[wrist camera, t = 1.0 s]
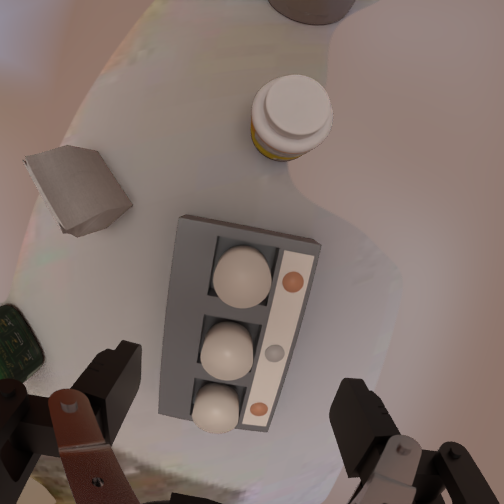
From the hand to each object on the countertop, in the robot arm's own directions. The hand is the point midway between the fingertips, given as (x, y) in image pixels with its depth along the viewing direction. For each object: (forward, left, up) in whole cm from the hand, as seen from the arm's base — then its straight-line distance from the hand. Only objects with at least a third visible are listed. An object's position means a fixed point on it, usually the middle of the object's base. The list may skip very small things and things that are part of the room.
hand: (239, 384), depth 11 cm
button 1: (+14, 0, -16) cm, 21 cm away
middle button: (+7, 0, -16) cm, 17 cm away
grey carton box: (-5, -15, -19) cm, 24 cm away
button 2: (0, 0, -16) cm, 16 cm away
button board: (+7, 0, -18) cm, 19 cm away
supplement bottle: (-13, +1, -18) cm, 22 cm away
